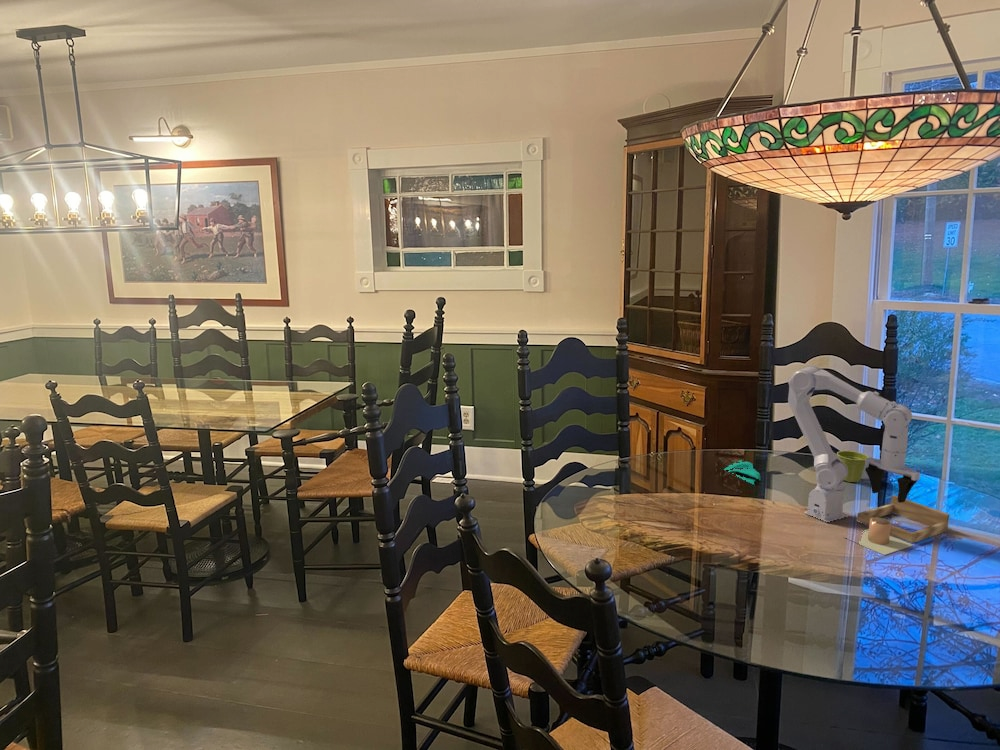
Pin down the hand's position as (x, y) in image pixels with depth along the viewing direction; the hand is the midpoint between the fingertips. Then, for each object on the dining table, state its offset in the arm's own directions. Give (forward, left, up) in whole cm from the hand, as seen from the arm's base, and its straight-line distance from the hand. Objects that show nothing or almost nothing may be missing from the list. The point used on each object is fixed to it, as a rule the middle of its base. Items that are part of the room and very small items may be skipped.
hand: (888, 497), depth 191 cm
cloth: (+2, +53, -10) cm, 54 cm away
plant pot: (+27, +30, -10) cm, 41 cm away
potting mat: (-9, -4, -9) cm, 14 cm away
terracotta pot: (-9, -4, -9) cm, 13 cm away
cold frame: (+6, -1, -9) cm, 11 cm away
